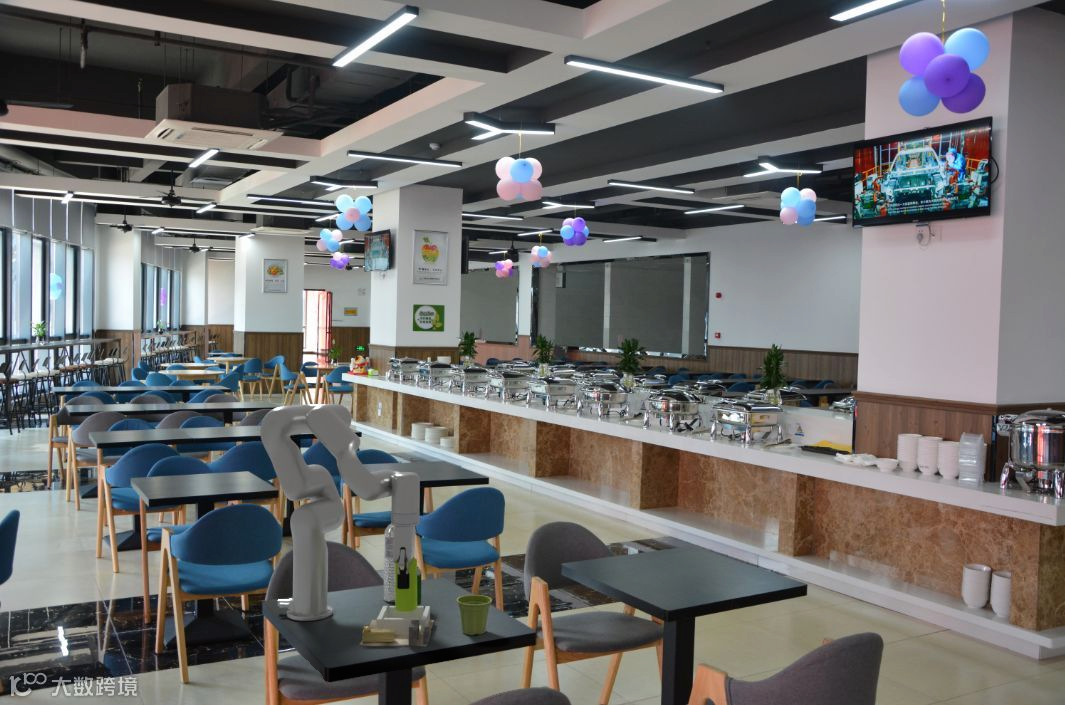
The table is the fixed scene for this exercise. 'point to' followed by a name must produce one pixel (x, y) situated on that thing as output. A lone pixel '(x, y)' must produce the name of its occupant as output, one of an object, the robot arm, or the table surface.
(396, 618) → the dock
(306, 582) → the robot arm
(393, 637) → the tan rectangular block
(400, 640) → the base board
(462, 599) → the plant pot
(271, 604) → the table surface
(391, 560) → the water bottle
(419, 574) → the soda can
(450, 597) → the table surface
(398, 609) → the soap dispenser
